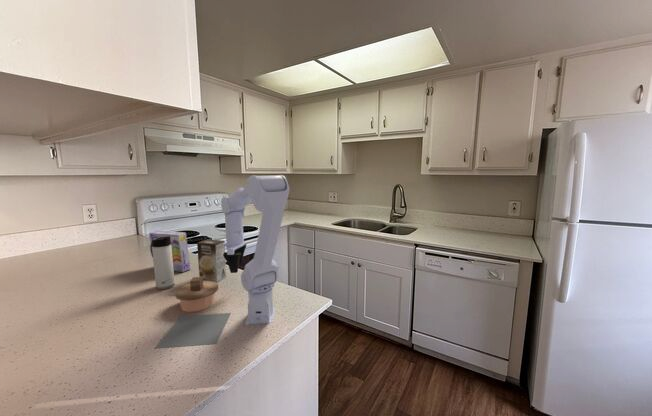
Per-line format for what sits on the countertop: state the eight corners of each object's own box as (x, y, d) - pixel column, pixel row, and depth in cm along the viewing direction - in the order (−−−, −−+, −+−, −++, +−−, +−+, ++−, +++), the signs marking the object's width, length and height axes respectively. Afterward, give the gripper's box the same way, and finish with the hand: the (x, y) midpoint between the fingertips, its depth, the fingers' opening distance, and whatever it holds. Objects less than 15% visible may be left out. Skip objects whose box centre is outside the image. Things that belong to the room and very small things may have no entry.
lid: (211, 299, 82) (210, 286, 81) (167, 301, 80) (166, 288, 80) (223, 282, 95) (222, 270, 94) (185, 283, 93) (184, 272, 93)
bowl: (208, 312, 84) (207, 297, 83) (175, 314, 83) (174, 299, 82) (217, 297, 94) (217, 284, 93) (188, 299, 93) (187, 285, 92)
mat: (216, 345, 67) (216, 343, 67) (154, 350, 66) (154, 348, 66) (231, 314, 82) (231, 312, 82) (180, 317, 81) (180, 316, 81)
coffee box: (198, 280, 109) (195, 242, 107) (209, 274, 115) (206, 238, 113) (217, 282, 106) (214, 244, 104) (227, 276, 113) (225, 240, 110)
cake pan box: (151, 268, 123) (147, 231, 121) (161, 264, 128) (157, 229, 125) (181, 273, 116) (178, 234, 114) (191, 269, 121) (188, 232, 119)
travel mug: (166, 290, 99) (162, 239, 97) (152, 289, 101) (146, 238, 98) (179, 283, 105) (175, 235, 103) (165, 282, 107) (160, 234, 104)
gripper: (228, 226, 98) (230, 262, 100) (216, 236, 84) (218, 277, 86) (247, 226, 99) (249, 261, 101) (239, 235, 84) (241, 275, 86)
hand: (236, 268), depth 93 cm, fingers open, 7 cm apart
